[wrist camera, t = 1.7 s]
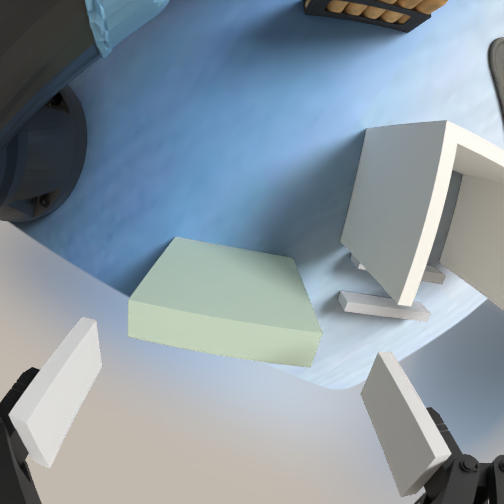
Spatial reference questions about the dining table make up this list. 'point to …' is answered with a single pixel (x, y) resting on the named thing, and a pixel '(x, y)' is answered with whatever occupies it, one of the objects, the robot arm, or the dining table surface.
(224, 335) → the door
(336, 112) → the dining table surface
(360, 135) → the dining table surface
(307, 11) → the ammunition clip
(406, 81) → the dining table surface
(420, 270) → the cabinet
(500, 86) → the c clamp
